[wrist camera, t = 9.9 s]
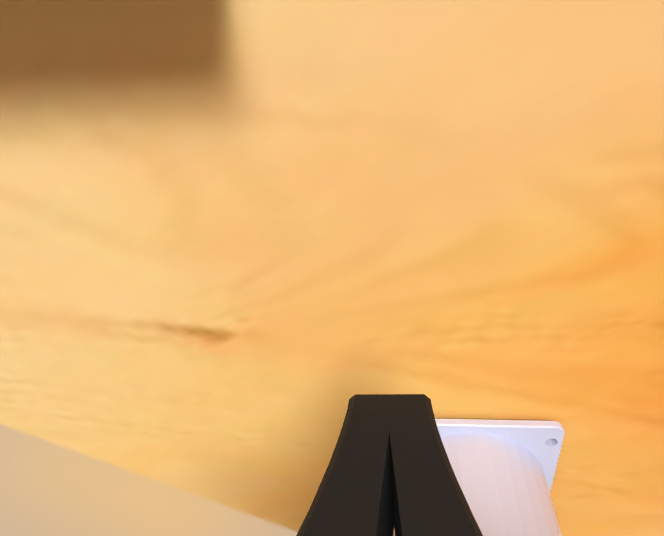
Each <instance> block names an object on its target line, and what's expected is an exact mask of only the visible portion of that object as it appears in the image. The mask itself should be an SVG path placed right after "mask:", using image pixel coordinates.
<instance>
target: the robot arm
mask: <svg viewBox="0 0 664 536" xmlns="http://www.w3.org/2000/svg"><path fill="white" fill-rule="evenodd" d="M564 435H565V433H564V429H563V426H562V425H561V423H559V422H557V421H538V420H485V419H435V417H434V414H433V410H432V405H431V400H430V399H429V398H428V397H427V396H426V395H424V394H395V395H354V396H353V397H352V398H350V400H349V404H348V409H347V413H346V416H345V420H344V423H343V427H342V430H341V433H340V436H339V439H338V442H337V444H336V447H335V450H334V452H333V455H332V458H331V460H330V463H329V465H328V468H327V470H326V472H325V475H324V477H323V479H322V482H321V484H320V486H319V489H318V491H317V493H316V496H315V498H314V500H313V503H312V505H311V507H310V509H309V511H308V513H307V515H306V517H305V519H304V521H303V523H302V525H301V527H300V529H299V531H298V533H297V536H562V535H561V531H560V528H559V524H558V521H557V517H556V514H555V510H554V507H553V503H552V500H551V496H550V491H551V487H552V483H553V479H554V475H555V471H556V467H557V463H558V459H559V455H560V451H561V447H562V443H563V439H564Z"/></svg>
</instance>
